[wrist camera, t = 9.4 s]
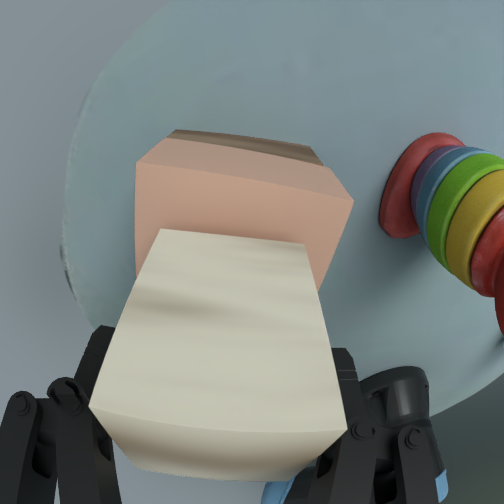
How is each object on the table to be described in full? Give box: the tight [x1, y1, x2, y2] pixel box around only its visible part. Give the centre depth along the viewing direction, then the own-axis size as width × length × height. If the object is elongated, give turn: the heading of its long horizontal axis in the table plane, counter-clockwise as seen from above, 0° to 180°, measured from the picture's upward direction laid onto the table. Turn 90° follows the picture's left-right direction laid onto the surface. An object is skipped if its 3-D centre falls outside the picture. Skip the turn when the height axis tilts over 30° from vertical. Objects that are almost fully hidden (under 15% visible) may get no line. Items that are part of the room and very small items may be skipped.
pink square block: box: [135, 138, 354, 293], centre depth 17 cm, size 10×10×5 cm
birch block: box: [89, 229, 347, 482], centre depth 11 cm, size 6×6×8 cm
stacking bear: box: [380, 133, 504, 335], centre depth 15 cm, size 11×10×18 cm
